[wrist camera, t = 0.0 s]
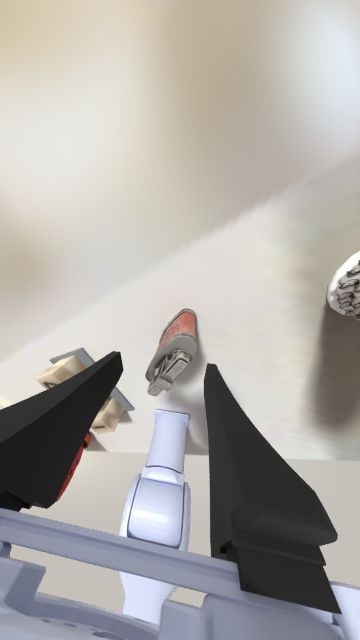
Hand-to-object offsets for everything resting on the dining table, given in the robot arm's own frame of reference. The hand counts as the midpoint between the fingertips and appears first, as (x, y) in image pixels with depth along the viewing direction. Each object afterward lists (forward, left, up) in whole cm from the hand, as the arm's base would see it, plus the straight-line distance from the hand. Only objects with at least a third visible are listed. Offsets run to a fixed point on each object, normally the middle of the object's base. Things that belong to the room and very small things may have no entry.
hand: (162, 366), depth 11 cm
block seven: (-13, +20, -10) cm, 26 cm away
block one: (-25, +14, -10) cm, 30 cm away
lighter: (-2, 0, -10) cm, 11 cm away
